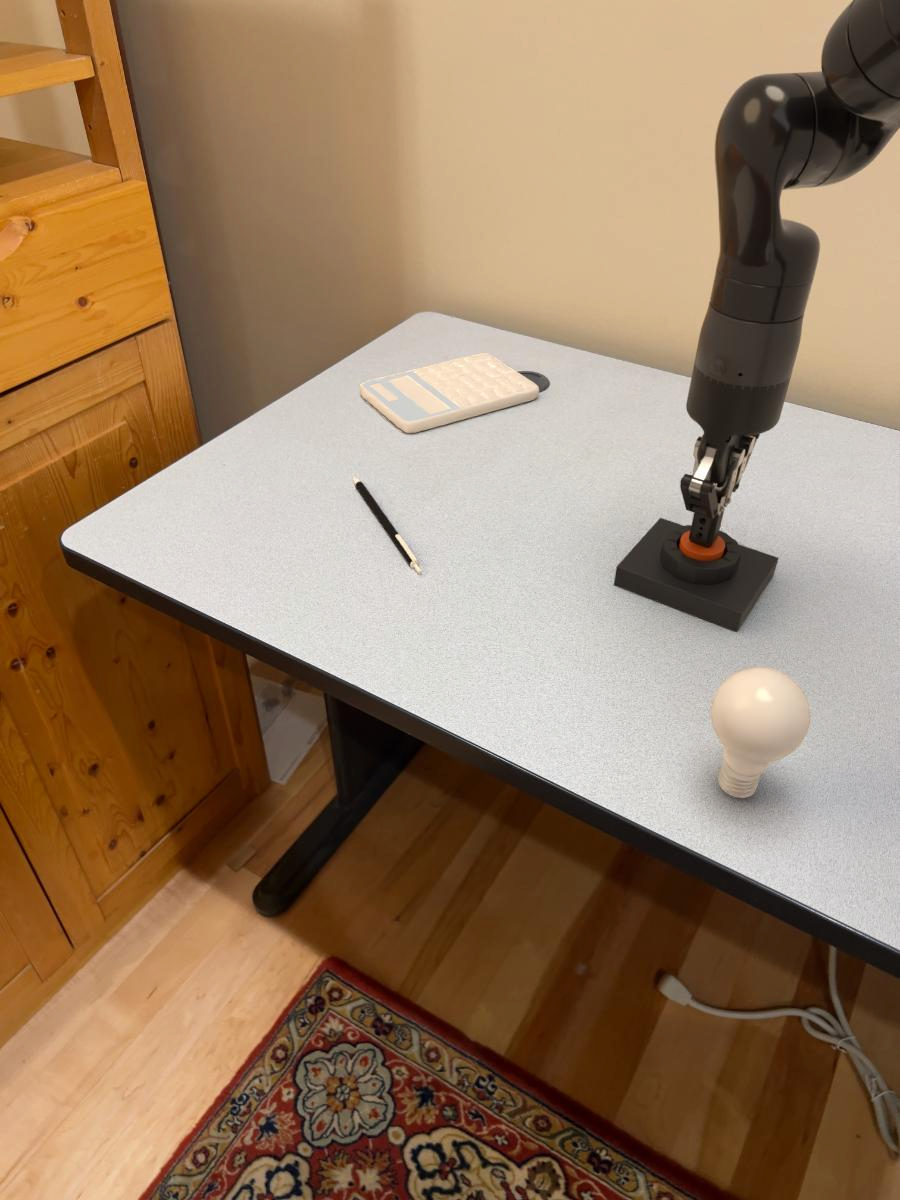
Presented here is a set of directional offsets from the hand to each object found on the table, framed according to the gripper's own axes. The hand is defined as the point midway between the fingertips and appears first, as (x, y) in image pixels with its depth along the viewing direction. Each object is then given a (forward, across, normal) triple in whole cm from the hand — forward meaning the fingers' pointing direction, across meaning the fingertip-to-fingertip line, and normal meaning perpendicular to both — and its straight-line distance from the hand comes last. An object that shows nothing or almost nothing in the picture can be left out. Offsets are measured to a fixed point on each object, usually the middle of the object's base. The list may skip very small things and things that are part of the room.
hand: (702, 541), depth 81 cm
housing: (+4, 0, 0) cm, 5 cm away
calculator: (+5, +19, +41) cm, 45 cm away
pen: (+5, -9, +30) cm, 32 cm away
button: (+2, 0, 0) cm, 2 cm away
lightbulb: (+5, -22, -12) cm, 26 cm away
